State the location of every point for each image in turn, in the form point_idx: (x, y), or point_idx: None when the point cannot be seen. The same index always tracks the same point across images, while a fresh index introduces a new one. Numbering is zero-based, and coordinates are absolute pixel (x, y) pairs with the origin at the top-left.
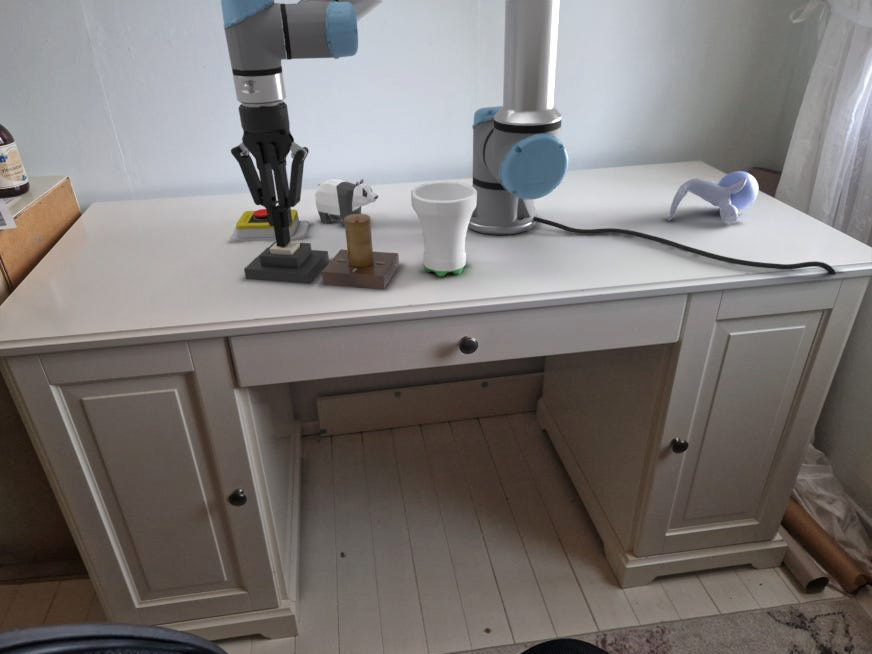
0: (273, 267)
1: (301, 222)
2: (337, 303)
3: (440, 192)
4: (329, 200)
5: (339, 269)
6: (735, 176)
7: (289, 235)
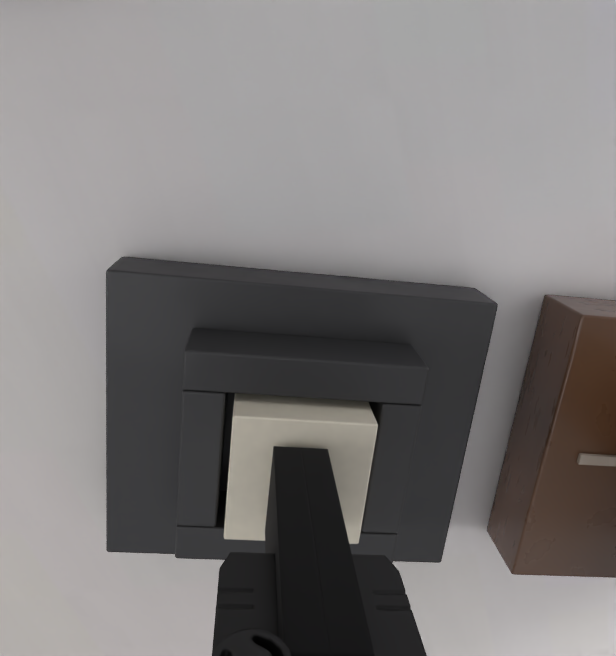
0: None
1: None
2: (557, 646)
3: None
4: None
5: (592, 547)
6: None
7: (331, 476)
